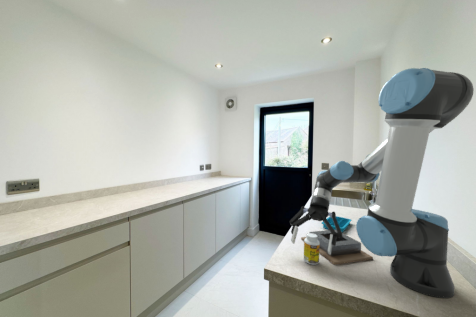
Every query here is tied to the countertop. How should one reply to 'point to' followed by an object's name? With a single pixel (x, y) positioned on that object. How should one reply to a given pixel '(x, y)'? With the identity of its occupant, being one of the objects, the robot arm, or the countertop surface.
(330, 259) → the brown base board
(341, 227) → the ice cube tray
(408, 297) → the countertop surface
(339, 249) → the square socket
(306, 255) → the supplement bottle
